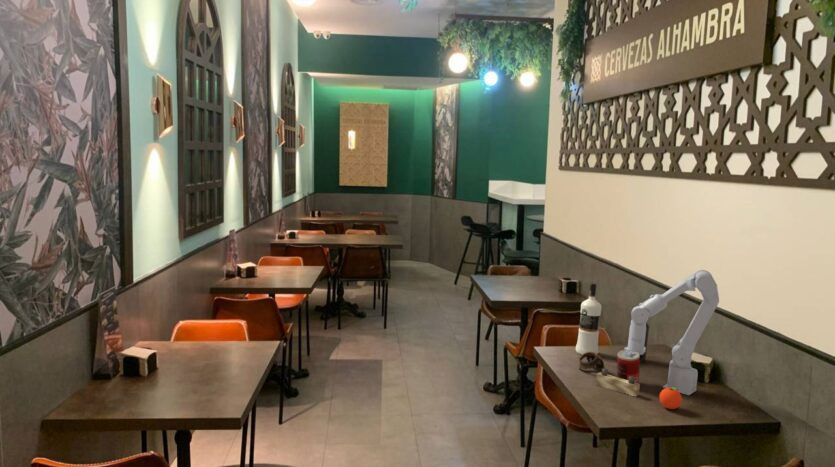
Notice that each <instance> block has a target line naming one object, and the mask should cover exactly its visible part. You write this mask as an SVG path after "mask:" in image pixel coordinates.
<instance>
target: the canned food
mask: <svg viewBox="0 0 835 467" xmlns="http://www.w3.org/2000/svg"><path fill="white" fill-rule="evenodd" d="M626 351H627V352H632V353H636V354H635V355H632V356H630V357H627V356H624V354H625V353H626ZM616 356H617V358H616V360H617V361H616V377H618V378H621V379H625V380H628V381H629V377H630V376H632V377H635V383H638V384H639V382H640V365H641V363H640V355H639V353H638V352H636V351H635V352H634V351H631V350H624V349H622V350H619V351H618V352H617V355H616Z"/></svg>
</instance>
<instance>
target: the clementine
mask: <svg viewBox="0 0 835 467" xmlns="http://www.w3.org/2000/svg"><path fill="white" fill-rule="evenodd" d="M676 389H677V388H673V387H672V388H663V389H662V390H661V392H659V396H658V397H659V402H660V403H661V405H662V406H663V407H664V408H666V409H669V410H674V409H678V408H679V407H680V406H681V404H682V401H683V397H682V393H680V392H678V389H677V390H676Z"/></svg>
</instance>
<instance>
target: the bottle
mask: <svg viewBox="0 0 835 467" xmlns="http://www.w3.org/2000/svg"><path fill="white" fill-rule="evenodd" d="M649 330H650V325H649V324H648V321H647V322H646V335H645V344H644V347H646V350H645V352H644V354H643V355H641V356H643V357H644V358H643V360H642V361H641V363H645V362H646V359H647V349H648V341H649Z"/></svg>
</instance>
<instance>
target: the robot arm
mask: <svg viewBox="0 0 835 467" xmlns="http://www.w3.org/2000/svg"><path fill="white" fill-rule="evenodd" d="M696 289H697V290H698V292H700V293H701V297H702V298H703V300H702V301H701V304H700V305H699V307H698V308H697V310H696V312H695V315H694V316H693V318H692V320H691V321H690V323H689V326H688V328H687V329H686V331H685V333H684V334H683V336H682V338H681V339H679V341H678V343H677V344H676V345H674V346H673V347H672V349H671V354H672V356H671V358H672V359H671V360H670V361H669V367H668V373H667V374H668V376H667V381H666V382H667V383H666V384H665V385H663V386H662V389H665V388H672V387H673V388H677V389H678V392H679V393H680V394H683V395H687V396H691V394H694V393H695V392H696V391H697V383H698V374H699V372H698V369H696V368H693V366H692V364H691V362H692V355H693V353H694V351H695V347H696V346H697V344H698V341H699V339H700V337H701V336H702V334H703V333H704V331H705V329H706V326H707V325H708V324H709V322H710V320H711V318H712V316H713V315H714V312H715V310H716V309H717V307H718V305H719V302H720V297H719V291H718V290H719V289H718V284H717V282H716V281H715V279H714V277H713V274H711V272H709V271H708V270H705V269H700V270H697V271H696V272H695V273H692V274H690V275H688V276H686V277H685V278H683V279H682V280H681V281H680V282H678V283H676V284H675V285H674V286H672V287H671V288H670V289H668V290H667V291H665V292H664V293H663V294H659V293H656V294H651V295H650V296H649V298H647V300H645V301H644V302H640V303H639V304H638V305H637V306H634V307H633V308H632V310H631V311H630V313H631V314H630V315H631V316H630V317H631V320H630V325H629V332H628V333H629V334H628V341H627V342H628V343H627V346H626V347H624V349H623V350H631V351H634V352H635V351H636V352H638V353H639V355H640V364H641V363H642V362H641V361H642V360H643V358H644V357H643V356H641V355H643V354H644V352H645V350H646V347H644V344H645V335H646V322H647V323H648V320H649V318H651V317H653V316H655V315H657V314H658V313H661V311H663V310H664V309H666V308H667V307H668V306H667V305H668V302H670V301H672V300H674V299H675V298H677V297H679V296H680V295H681V294H683V293H685V292H688V291H689V292H695V291H697V290H696ZM635 354H636V353H632V352H627V351H626V353H625V354H624V356H627V357H630V356H632V355H635ZM677 389H676V390H677Z"/></svg>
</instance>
